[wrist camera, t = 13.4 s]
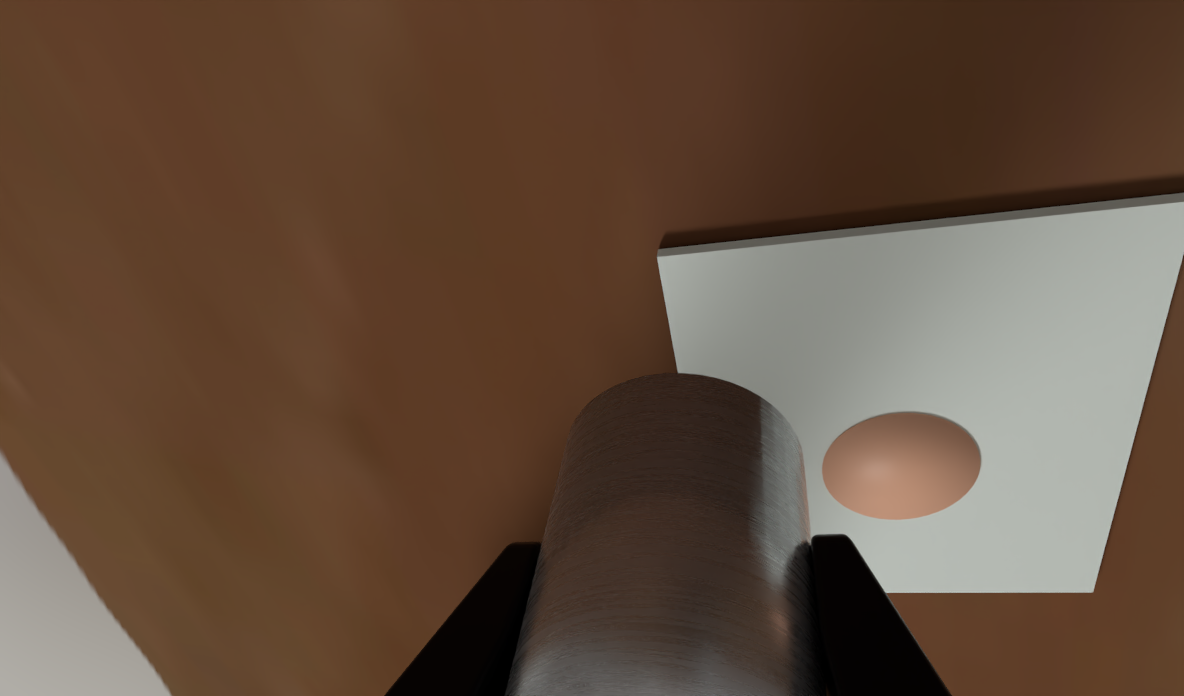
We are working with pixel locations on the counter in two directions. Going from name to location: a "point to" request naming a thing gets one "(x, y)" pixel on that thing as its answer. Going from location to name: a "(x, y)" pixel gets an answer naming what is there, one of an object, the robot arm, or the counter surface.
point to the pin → (675, 552)
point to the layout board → (948, 377)
